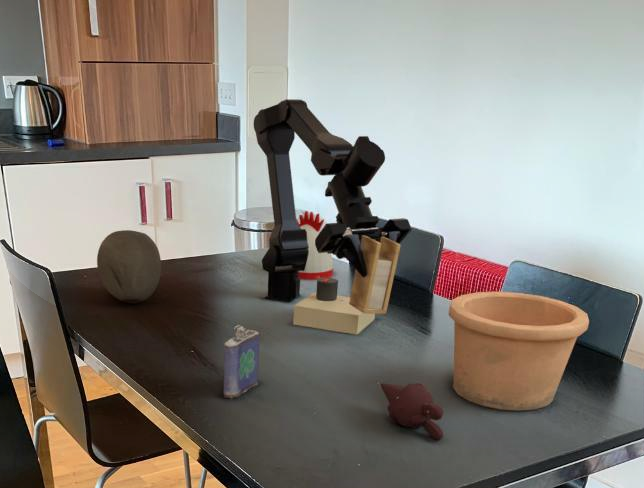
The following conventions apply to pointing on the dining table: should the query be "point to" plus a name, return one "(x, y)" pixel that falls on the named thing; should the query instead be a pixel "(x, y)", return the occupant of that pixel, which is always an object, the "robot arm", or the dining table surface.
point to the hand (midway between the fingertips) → (378, 274)
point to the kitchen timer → (314, 250)
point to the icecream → (413, 407)
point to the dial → (327, 289)
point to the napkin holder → (375, 276)
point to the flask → (241, 362)
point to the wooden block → (331, 315)
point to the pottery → (512, 347)
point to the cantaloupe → (129, 265)
